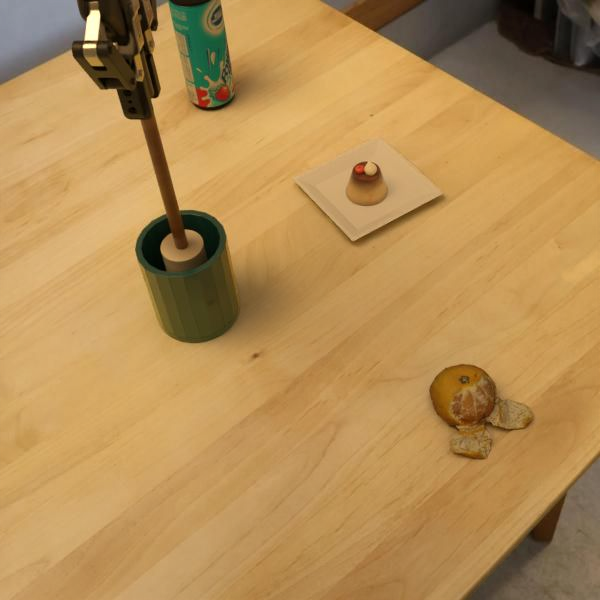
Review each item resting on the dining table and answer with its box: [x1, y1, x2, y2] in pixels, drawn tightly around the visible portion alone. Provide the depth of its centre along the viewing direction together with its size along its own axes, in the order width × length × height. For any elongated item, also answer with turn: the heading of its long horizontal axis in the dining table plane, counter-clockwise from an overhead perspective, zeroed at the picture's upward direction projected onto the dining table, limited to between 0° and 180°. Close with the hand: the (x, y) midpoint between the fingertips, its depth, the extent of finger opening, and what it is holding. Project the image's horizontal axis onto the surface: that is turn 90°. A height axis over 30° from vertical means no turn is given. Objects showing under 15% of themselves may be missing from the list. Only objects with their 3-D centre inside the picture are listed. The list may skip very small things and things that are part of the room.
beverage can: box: [167, 0, 236, 110], centre depth 102 cm, size 6×6×15 cm
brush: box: [122, 48, 208, 273], centre depth 73 cm, size 4×4×28 cm
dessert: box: [292, 135, 444, 242], centre depth 93 cm, size 12×12×5 cm
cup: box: [134, 209, 241, 344], centre depth 82 cm, size 8×8×10 cm
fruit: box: [428, 363, 533, 460], centre depth 75 cm, size 8×8×4 cm
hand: (143, 105), depth 66 cm, fingers closed on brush, 2 cm apart
